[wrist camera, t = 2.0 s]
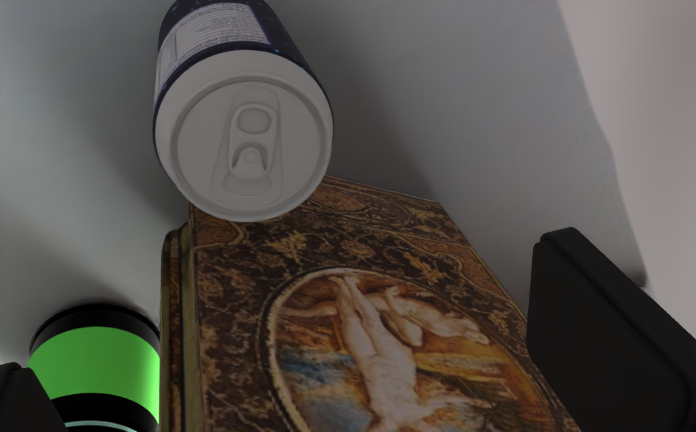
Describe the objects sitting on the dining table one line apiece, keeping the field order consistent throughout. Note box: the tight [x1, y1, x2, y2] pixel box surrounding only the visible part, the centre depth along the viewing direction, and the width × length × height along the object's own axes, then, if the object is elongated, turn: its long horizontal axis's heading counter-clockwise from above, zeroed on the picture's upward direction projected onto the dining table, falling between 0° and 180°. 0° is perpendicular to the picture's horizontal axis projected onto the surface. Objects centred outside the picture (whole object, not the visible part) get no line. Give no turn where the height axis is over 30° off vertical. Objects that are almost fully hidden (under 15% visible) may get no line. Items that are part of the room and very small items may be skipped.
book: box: [159, 175, 582, 432], centre depth 23 cm, size 16×6×25 cm, turn 68°
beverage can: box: [152, 0, 334, 222], centre depth 22 cm, size 6×6×12 cm
